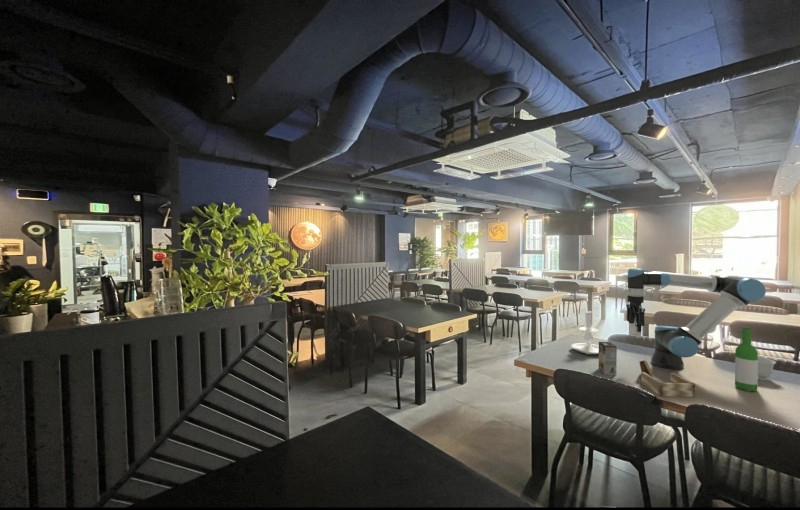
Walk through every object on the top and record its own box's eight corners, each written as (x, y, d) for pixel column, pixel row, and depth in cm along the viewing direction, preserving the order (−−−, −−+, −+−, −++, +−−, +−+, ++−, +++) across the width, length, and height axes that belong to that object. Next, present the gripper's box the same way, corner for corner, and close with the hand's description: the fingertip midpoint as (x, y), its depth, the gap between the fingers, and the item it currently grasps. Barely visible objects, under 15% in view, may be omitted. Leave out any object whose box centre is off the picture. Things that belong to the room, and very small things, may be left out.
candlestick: (569, 356, 213) (568, 313, 212) (572, 345, 234) (572, 306, 233) (606, 361, 202) (606, 316, 201) (606, 350, 222) (607, 309, 222)
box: (673, 384, 169) (673, 372, 169) (695, 397, 155) (695, 384, 154) (641, 383, 170) (641, 372, 170) (660, 396, 156) (660, 383, 156)
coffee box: (597, 368, 191) (598, 341, 191) (610, 369, 190) (610, 341, 190) (604, 374, 182) (604, 346, 182) (617, 375, 181) (617, 346, 181)
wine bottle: (756, 393, 157) (757, 331, 156) (733, 387, 163) (734, 328, 162) (758, 389, 162) (759, 328, 161) (736, 383, 168) (737, 325, 167)
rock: (636, 367, 186) (629, 369, 180) (648, 357, 182) (641, 359, 176) (654, 384, 179) (647, 386, 173) (667, 374, 175) (660, 376, 169)
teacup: (775, 376, 176) (775, 358, 175) (775, 384, 166) (776, 365, 166) (743, 370, 185) (743, 352, 185) (741, 377, 175) (741, 359, 175)
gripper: (619, 293, 196) (619, 331, 197) (638, 298, 178) (637, 340, 179) (633, 293, 196) (632, 331, 196) (652, 298, 178) (652, 340, 178)
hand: (635, 335), depth 188 cm, fingers open, 5 cm apart
